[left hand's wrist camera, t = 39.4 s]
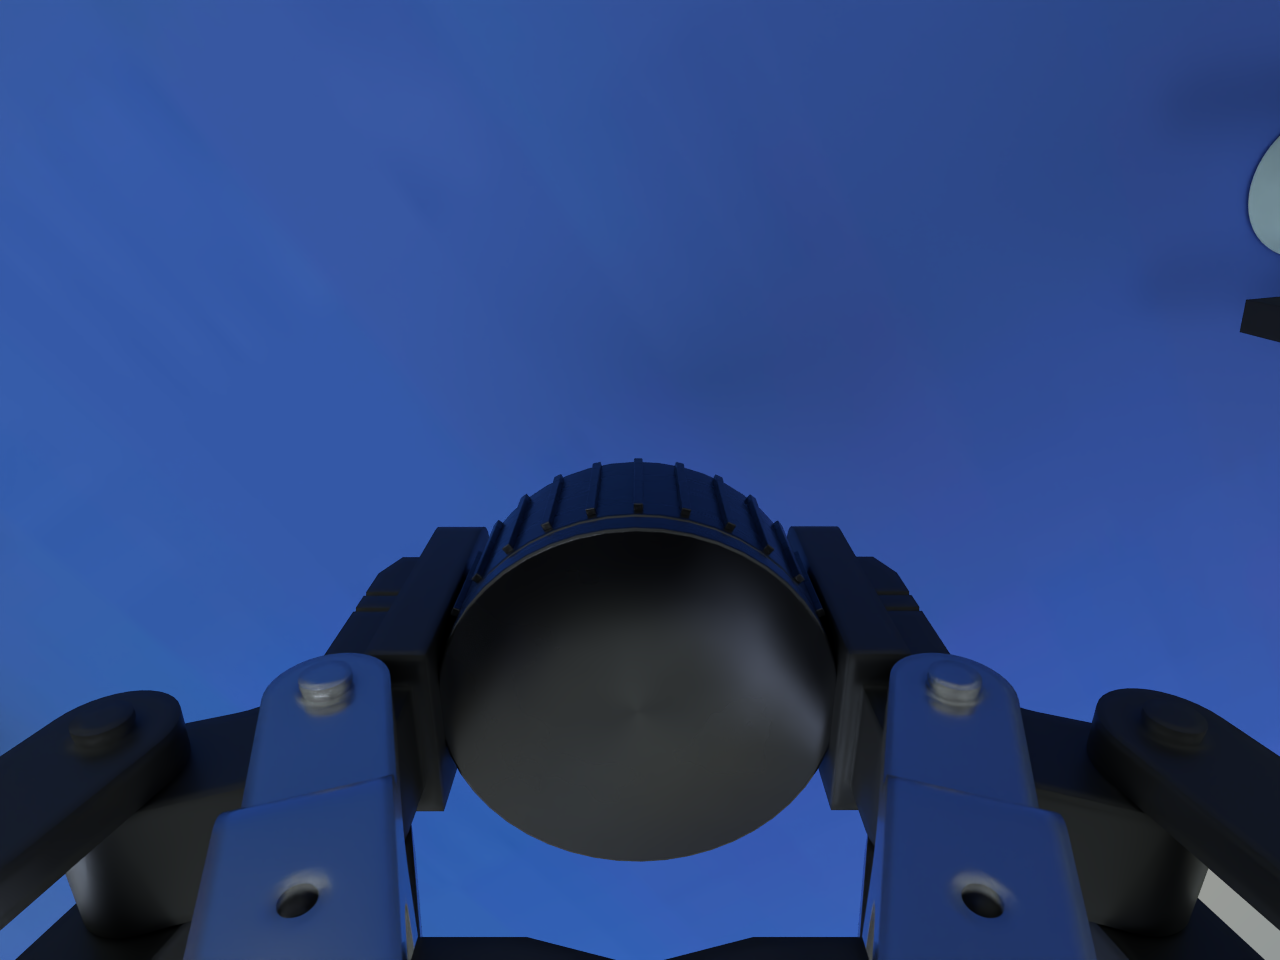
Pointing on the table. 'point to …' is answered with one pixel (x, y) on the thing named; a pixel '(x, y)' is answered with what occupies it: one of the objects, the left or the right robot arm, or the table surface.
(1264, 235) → the pale green rounded cylinder
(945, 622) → the table surface
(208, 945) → the left robot arm
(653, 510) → the lid
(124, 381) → the table surface
